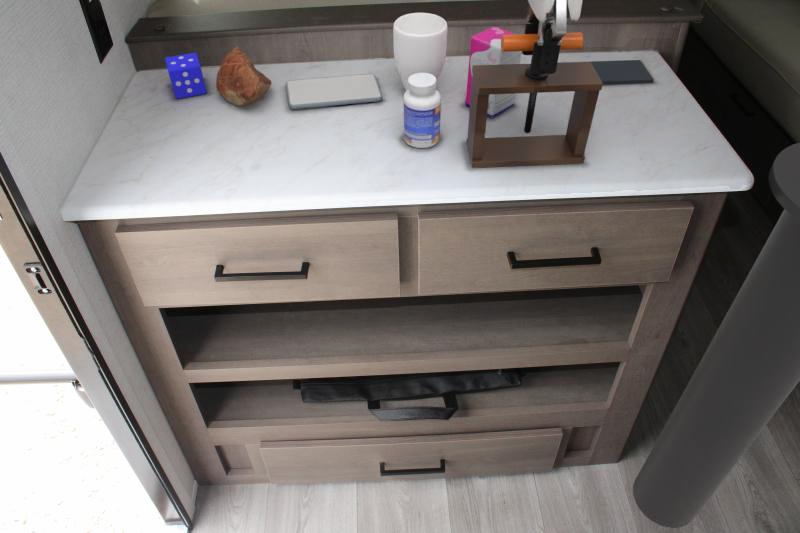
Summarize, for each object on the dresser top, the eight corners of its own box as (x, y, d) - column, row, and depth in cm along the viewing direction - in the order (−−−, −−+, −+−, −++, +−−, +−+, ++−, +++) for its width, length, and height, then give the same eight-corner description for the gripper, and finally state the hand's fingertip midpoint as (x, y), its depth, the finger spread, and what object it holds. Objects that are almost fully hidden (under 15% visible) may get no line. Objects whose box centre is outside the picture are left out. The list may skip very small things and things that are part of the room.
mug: (447, 103, 102) (451, 34, 94) (396, 105, 101) (395, 36, 93) (438, 67, 110) (440, 1, 102) (390, 69, 110) (389, 3, 101)
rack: (572, 139, 94) (590, 61, 85) (583, 163, 90) (603, 83, 81) (466, 144, 93) (472, 65, 85) (471, 168, 89) (479, 87, 80)
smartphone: (383, 97, 101) (288, 106, 99) (383, 102, 102) (289, 111, 100) (374, 72, 107) (285, 80, 105) (374, 77, 108) (286, 85, 105)
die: (207, 94, 104) (200, 65, 100) (176, 99, 103) (168, 71, 99) (202, 79, 107) (196, 52, 104) (172, 85, 106) (164, 57, 103)
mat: (639, 62, 111) (640, 59, 110) (653, 82, 106) (654, 79, 105) (549, 65, 110) (549, 62, 110) (558, 86, 105) (559, 82, 105)
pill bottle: (441, 148, 93) (444, 88, 86) (404, 150, 92) (404, 90, 85) (437, 128, 96) (440, 69, 90) (402, 129, 96) (402, 70, 89)
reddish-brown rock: (219, 53, 106) (233, 14, 98) (267, 70, 110) (285, 34, 102) (206, 115, 101) (220, 79, 93) (257, 131, 105) (275, 97, 97)
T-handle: (559, 125, 90) (579, 27, 80) (564, 137, 88) (585, 38, 78) (490, 128, 90) (501, 30, 80) (493, 140, 88) (505, 41, 78)
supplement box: (515, 105, 101) (525, 36, 93) (491, 119, 98) (499, 49, 90) (487, 92, 104) (494, 24, 96) (463, 105, 101) (469, 36, 93)
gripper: (620, -69, 63) (584, 95, 76) (577, -116, 75) (551, 33, 88) (546, -67, 63) (522, 98, 76) (514, -115, 75) (498, 35, 87)
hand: (538, 61), depth 82 cm, fingers open, 4 cm apart
